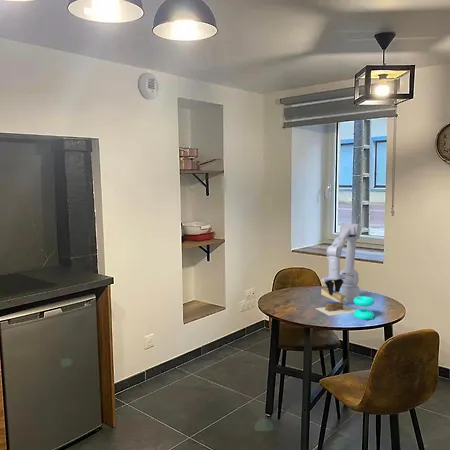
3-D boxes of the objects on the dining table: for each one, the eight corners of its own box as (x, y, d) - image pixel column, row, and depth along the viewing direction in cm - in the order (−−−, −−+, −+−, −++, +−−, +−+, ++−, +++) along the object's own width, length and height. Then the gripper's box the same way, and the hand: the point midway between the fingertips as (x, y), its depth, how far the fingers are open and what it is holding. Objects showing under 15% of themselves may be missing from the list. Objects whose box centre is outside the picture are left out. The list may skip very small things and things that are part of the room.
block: (339, 307, 248) (339, 301, 248) (344, 309, 244) (344, 303, 244) (324, 309, 246) (324, 303, 245) (328, 311, 241) (328, 305, 241)
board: (344, 305, 254) (344, 304, 254) (359, 312, 240) (359, 311, 240) (315, 309, 248) (315, 308, 248) (328, 316, 235) (328, 315, 235)
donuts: (372, 295, 235) (375, 300, 225) (372, 315, 236) (375, 321, 226) (352, 295, 237) (354, 300, 227) (352, 314, 238) (354, 320, 228)
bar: (326, 294, 253) (326, 287, 253) (345, 301, 239) (346, 295, 238) (321, 295, 252) (321, 288, 251) (340, 302, 237) (340, 295, 237)
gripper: (340, 266, 250) (340, 290, 251) (318, 268, 244) (318, 294, 245) (348, 268, 243) (348, 293, 245) (326, 271, 237) (326, 297, 238)
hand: (334, 294), depth 244 cm, fingers closed on bar, 3 cm apart
